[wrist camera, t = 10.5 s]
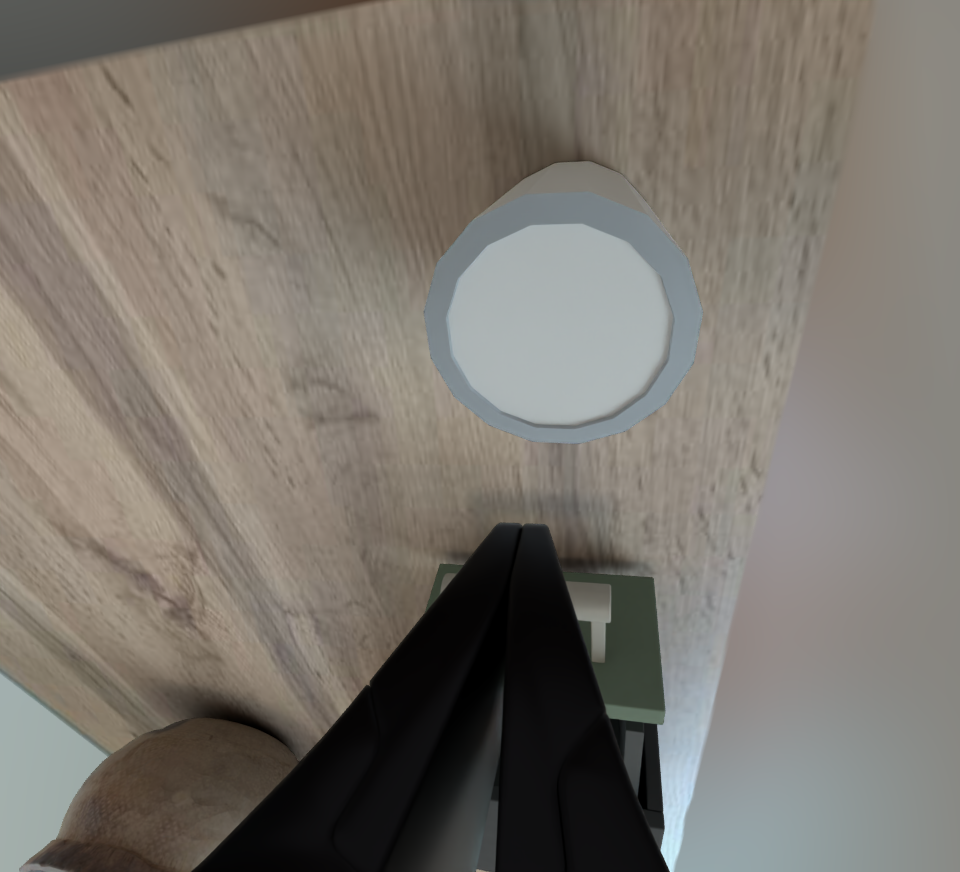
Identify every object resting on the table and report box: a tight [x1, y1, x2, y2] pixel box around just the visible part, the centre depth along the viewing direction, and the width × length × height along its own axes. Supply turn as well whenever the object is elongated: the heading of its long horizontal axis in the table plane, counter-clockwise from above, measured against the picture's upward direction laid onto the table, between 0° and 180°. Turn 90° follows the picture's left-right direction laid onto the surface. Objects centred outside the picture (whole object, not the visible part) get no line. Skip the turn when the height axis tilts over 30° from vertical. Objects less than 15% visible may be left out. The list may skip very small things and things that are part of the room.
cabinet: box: [477, 723, 665, 872], centre depth 35 cm, size 14×13×9 cm
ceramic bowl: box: [19, 718, 299, 872], centre depth 49 cm, size 22×22×15 cm
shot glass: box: [424, 161, 703, 444], centre depth 16 cm, size 7×7×7 cm
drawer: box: [425, 564, 665, 796], centre depth 28 cm, size 17×11×7 cm, turn 8°
